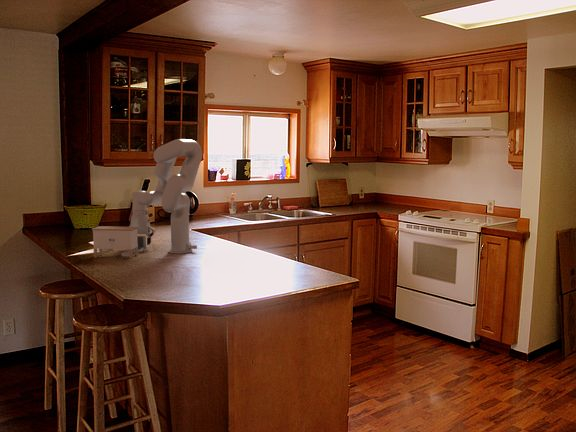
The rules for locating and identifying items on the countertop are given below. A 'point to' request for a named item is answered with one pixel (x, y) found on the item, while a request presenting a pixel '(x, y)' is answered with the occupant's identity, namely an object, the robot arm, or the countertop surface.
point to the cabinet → (115, 239)
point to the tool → (140, 243)
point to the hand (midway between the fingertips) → (140, 244)
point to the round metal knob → (125, 254)
